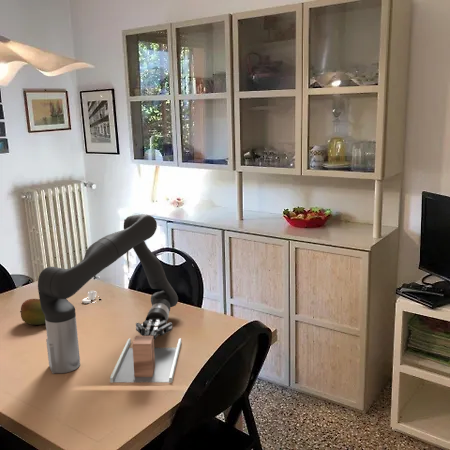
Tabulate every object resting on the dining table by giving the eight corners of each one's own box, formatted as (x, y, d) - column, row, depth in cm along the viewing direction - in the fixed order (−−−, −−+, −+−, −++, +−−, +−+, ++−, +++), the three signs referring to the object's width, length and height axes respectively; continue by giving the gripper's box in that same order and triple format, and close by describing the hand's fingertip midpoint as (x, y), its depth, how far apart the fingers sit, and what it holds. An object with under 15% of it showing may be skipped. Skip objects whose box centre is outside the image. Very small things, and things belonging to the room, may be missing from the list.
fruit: (21, 320, 198) (18, 296, 196) (54, 314, 203) (52, 291, 201) (22, 332, 188) (19, 307, 186) (57, 325, 193) (54, 301, 190)
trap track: (172, 385, 150) (171, 377, 150) (110, 385, 151) (109, 377, 150) (181, 344, 175) (181, 338, 175) (128, 345, 176) (128, 338, 175)
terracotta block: (152, 376, 153) (150, 343, 151) (134, 377, 153) (132, 344, 151) (155, 367, 158) (153, 335, 156) (137, 367, 159) (135, 335, 156)
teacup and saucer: (84, 306, 213) (83, 297, 212) (78, 300, 219) (77, 291, 218) (104, 301, 217) (103, 292, 216) (98, 296, 224) (97, 287, 223)
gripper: (138, 307, 181) (128, 327, 165) (175, 306, 181) (169, 327, 164) (139, 326, 183) (129, 348, 166) (176, 326, 183) (170, 348, 166)
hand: (149, 338), depth 165 cm, fingers closed
